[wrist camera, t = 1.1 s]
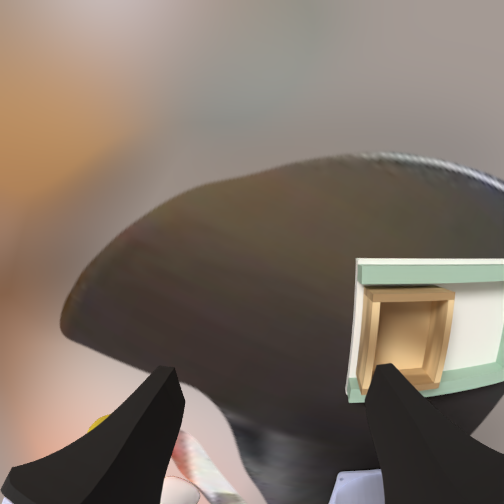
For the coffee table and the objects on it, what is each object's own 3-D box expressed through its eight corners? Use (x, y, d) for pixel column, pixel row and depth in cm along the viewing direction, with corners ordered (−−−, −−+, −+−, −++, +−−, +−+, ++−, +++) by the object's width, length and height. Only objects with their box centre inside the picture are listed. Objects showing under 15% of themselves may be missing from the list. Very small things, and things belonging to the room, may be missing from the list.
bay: (493, 371, 17) (508, 383, 14) (345, 388, 20) (348, 406, 17) (510, 258, 17) (529, 260, 14) (355, 258, 20) (362, 259, 17)
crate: (423, 369, 18) (438, 388, 14) (355, 373, 19) (361, 395, 16) (435, 285, 18) (455, 292, 14) (363, 286, 19) (373, 294, 16)
